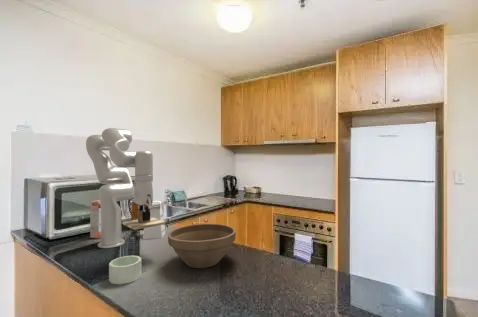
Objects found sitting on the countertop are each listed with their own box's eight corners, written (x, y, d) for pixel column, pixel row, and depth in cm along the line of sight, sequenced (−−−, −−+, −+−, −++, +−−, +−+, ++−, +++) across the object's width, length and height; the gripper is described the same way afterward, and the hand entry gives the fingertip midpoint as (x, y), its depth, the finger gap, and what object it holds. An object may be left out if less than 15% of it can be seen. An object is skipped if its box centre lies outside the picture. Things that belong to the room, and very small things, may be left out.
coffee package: (154, 225, 169) (154, 193, 169) (142, 230, 157) (142, 195, 157) (141, 224, 172) (141, 192, 172) (128, 229, 160) (128, 195, 160)
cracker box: (98, 238, 141) (98, 201, 141) (89, 238, 142) (89, 201, 142) (115, 232, 155) (115, 197, 155) (107, 231, 156) (107, 197, 156)
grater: (147, 233, 151) (147, 200, 151) (165, 232, 152) (165, 199, 152) (142, 238, 140) (142, 203, 141) (162, 238, 141) (161, 202, 142)
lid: (122, 224, 113) (122, 210, 113) (152, 218, 123) (152, 206, 123) (134, 230, 103) (134, 215, 103) (166, 224, 112) (165, 210, 112)
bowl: (105, 277, 94) (105, 260, 94) (134, 268, 101) (134, 253, 101) (115, 287, 86) (115, 269, 86) (145, 277, 93) (145, 261, 93)
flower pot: (155, 262, 107) (155, 231, 107) (206, 245, 128) (206, 219, 128) (196, 284, 88) (196, 246, 88) (249, 260, 108) (249, 229, 109)
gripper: (128, 178, 116) (128, 218, 116) (143, 180, 104) (143, 224, 104) (144, 177, 121) (144, 215, 121) (160, 179, 109) (160, 221, 109)
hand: (144, 219), depth 113 cm, fingers closed on lid, 4 cm apart
